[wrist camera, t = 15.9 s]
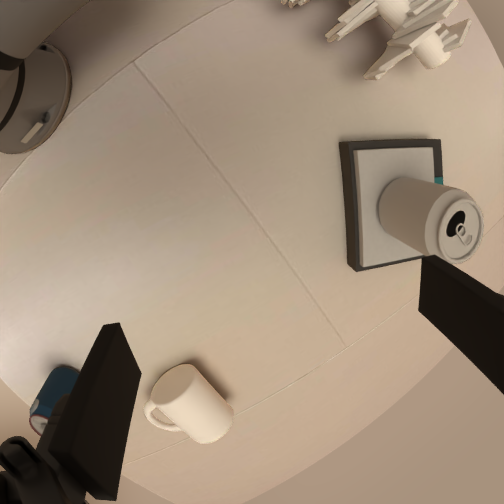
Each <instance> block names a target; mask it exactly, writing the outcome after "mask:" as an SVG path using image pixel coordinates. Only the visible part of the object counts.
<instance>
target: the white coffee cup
mask: <svg viewBox="0 0 504 504" xmlns="http://www.w3.org/2000/svg"><path fill="white" fill-rule="evenodd" d="M156 407H157V408H158V409H159V410H160V411H161V412H162V413H164V414H165V415H166V416H167V417H168V418H169V419H170V420H171V421H172V422H173V423H175V424H168V423H165V422H162V421H161V420H159V419H158V418H156V417H155V416H154V415H153V414H152V413H151V412H152V411H153V410H154V409H155V408H156ZM143 410H144V414H145V416H146V418H147V419H148V420H149V422H151V423H152V424H153V425H155V426H157V427H159V428H162V429H165V430H169V431H184V432H185V433H186V434H187V435H188V436H189V437H191V438H192V439H193V440H194V441H196V442H197V443H201V444H207V443H211V442H214V441H216V440H218V439H220V438H221V437H222V436H224V435H225V434H226V433H227V431H228V430H229V429H230V427H231V425H232V423H233V420H234V411H233V409H232V407H231V406H230V405H229V404H228V403H227V402H226V401H225V400H224V399H223V398H222V397H221V396H220V395H219V393H218V392H217V391H216V390H215V389H214V388H213V387H212V386H211V385H210V384H209V383H208V381H207V380H206V379H205V378H204V377H203V376H202V375H201V374H200V372H199V371H198V370H197V369H196V368H195V367H194V366H193V365H190V364H182V365H178V366H176V367H174V368H172V369H170V370H169V371H167V372H166V373H165V374H164V375H162V376H161V377H160V379H159V380H158V381H157V382H156V384H155V385H154V387H153V389H152V392H151V399H150V400H148V401H147V402H146V404H145V405H144V409H143Z"/></svg>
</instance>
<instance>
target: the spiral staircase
mask: <svg viewBox="0 0 504 504" xmlns="http://www.w3.org/2000/svg"><path fill="white" fill-rule="evenodd" d="M288 1H289V5H288V6H289V7H290V8H292V7H294V6H295V5H296V4H297V3H298V2H299V1H300V2H299V3H298V4H299V5H300V6H302V5H303V4H305V3H307V2H309V1H310V0H282V1H281V3H282V4H283V5H285V4H286V3H287V2H288ZM458 3H459V2H458V1H457V0H351V1H350V2H349V3H348V4H349V5H351V7H350V8H349V9H348V10H346V11H345V12H344V13H343V14H342V15H341V16H340V17H339V18H338V20H339V21H340V22H339V23H338V24H336V25H335V26H334V27H333V28H332V29H331V30H330V31H329V32H328V33H326V34H325V35H324V36H326V37H327V38H328V39H327V41H328V42H329V43H330V42H332V41H334V40H335V39H337V40H338V41H339V40H340V39H342V38H343V37H344V36H345V35H346V34H348V33H350V32H352V31H353V30H354V29H356V28H357V27H359V26H360V25H362V24H363V23H364V22H366V21H370V20H372V19H374V18H376V17H377V16H379V15H380V16H381V17H382V18H383V19H384V20H385V21H386V22H387V23H388V24H389V25H390V26H391V27H392V28H393V30H394V31H395V33H394V34H393V35H392V39H391V40H389V41H388V42H387V44H388V45H387V48H386V50H385V52H384V53H383V54H382V55H381V57H380V58H379V59H378V60H377V61H376V62H375V63H374V64H373V65H372V66H371V67H370V68H369V70H368V71H367V72H366V73H365V74H364V75H363V77H364V78H365V79H366V80H379V79H380V78H381V77H382V76H383V75H384V74H385V73H386V72H387V71H388V70H389V69H391V68H392V67H393V66H394V65H395V64H396V63H397V62H398V61H400V60H401V59H403V58H405V57H406V56H408V55H410V54H411V53H414V54H415V55H416V57H417V58H418V59H419V60H420V62H421V63H422V64H423V65H424V67H425V68H426V69H433V68H436V67H438V66H440V65H441V64H443V63H444V62H445V61H447V60H448V59H449V57H450V56H451V52H450V51H451V50H453V49H456V48H459V47H461V46H462V44H463V41H464V39H465V37H466V34H467V32H468V29H469V27H470V24H471V22H472V21H471V20H470V19H467V20H464V21H462V22H459V23H457V24H454V25H452V26H450V27H447V26H446V25H445V24H444V23H443V24H442V25H440V24H439V22H437V21H439V20H442V19H445V18H446V17H447V16H448V15H449V14H450V12H451V11H452V10H453V9H454V8H455V6H456V5H457V4H458Z"/></svg>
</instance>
